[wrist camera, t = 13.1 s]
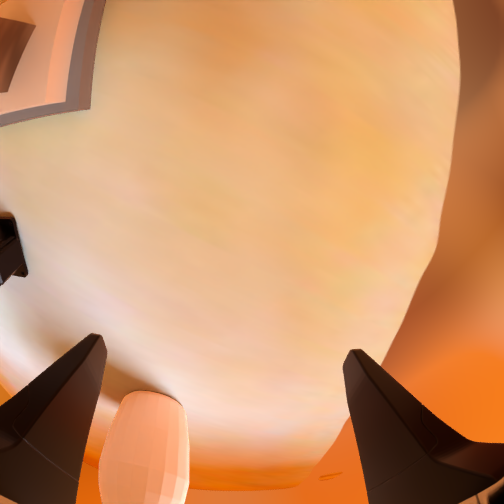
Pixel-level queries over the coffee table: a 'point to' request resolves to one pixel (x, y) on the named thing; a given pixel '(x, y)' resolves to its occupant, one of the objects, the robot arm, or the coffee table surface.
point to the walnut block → (12, 48)
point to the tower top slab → (42, 52)
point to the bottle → (146, 452)
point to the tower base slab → (72, 69)
